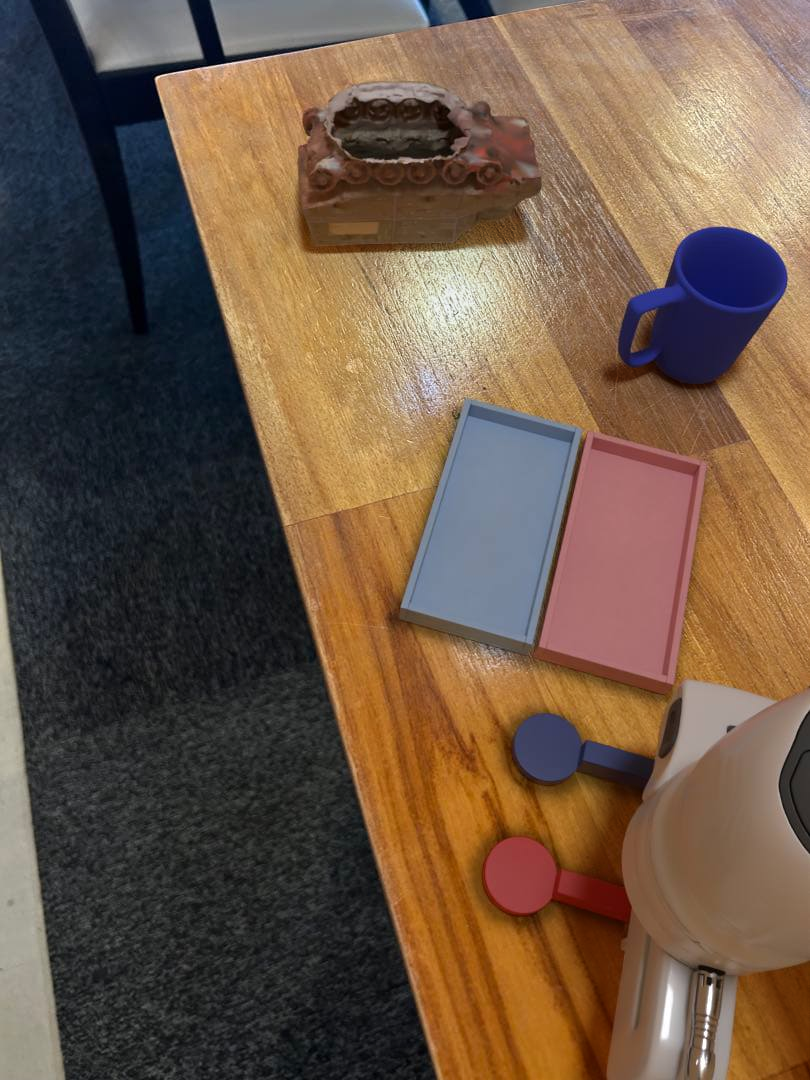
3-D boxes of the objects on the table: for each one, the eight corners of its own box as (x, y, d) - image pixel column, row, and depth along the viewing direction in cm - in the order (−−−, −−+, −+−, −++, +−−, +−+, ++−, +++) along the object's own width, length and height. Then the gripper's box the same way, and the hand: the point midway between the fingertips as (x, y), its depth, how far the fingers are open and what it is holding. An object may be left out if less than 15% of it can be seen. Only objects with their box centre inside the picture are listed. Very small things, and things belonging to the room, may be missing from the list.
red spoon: (703, 893, 57) (717, 887, 55) (694, 970, 55) (708, 967, 53) (491, 830, 58) (497, 821, 56) (474, 903, 56) (479, 897, 54)
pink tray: (698, 475, 72) (707, 461, 70) (664, 695, 63) (673, 685, 61) (582, 444, 72) (588, 429, 71) (533, 657, 64) (538, 646, 62)
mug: (577, 345, 77) (608, 254, 68) (703, 306, 80) (748, 214, 71) (627, 423, 74) (666, 339, 65) (756, 379, 76) (811, 292, 68)
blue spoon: (718, 767, 61) (732, 757, 59) (710, 834, 59) (724, 826, 57) (519, 709, 62) (525, 697, 60) (504, 774, 60) (510, 764, 58)
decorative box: (303, 147, 86) (299, 47, 77) (523, 161, 87) (544, 64, 78) (292, 255, 80) (287, 159, 71) (530, 269, 80) (553, 177, 72)
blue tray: (576, 443, 72) (582, 428, 71) (527, 656, 64) (532, 644, 62) (462, 412, 73) (465, 397, 71) (398, 619, 65) (400, 607, 63)
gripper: (776, 1152, 38) (669, 1127, 50) (812, 683, 47) (715, 758, 60) (620, 1102, 38) (552, 1090, 50) (687, 648, 48) (616, 729, 60)
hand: (641, 907), depth 55 cm, fingers closed
